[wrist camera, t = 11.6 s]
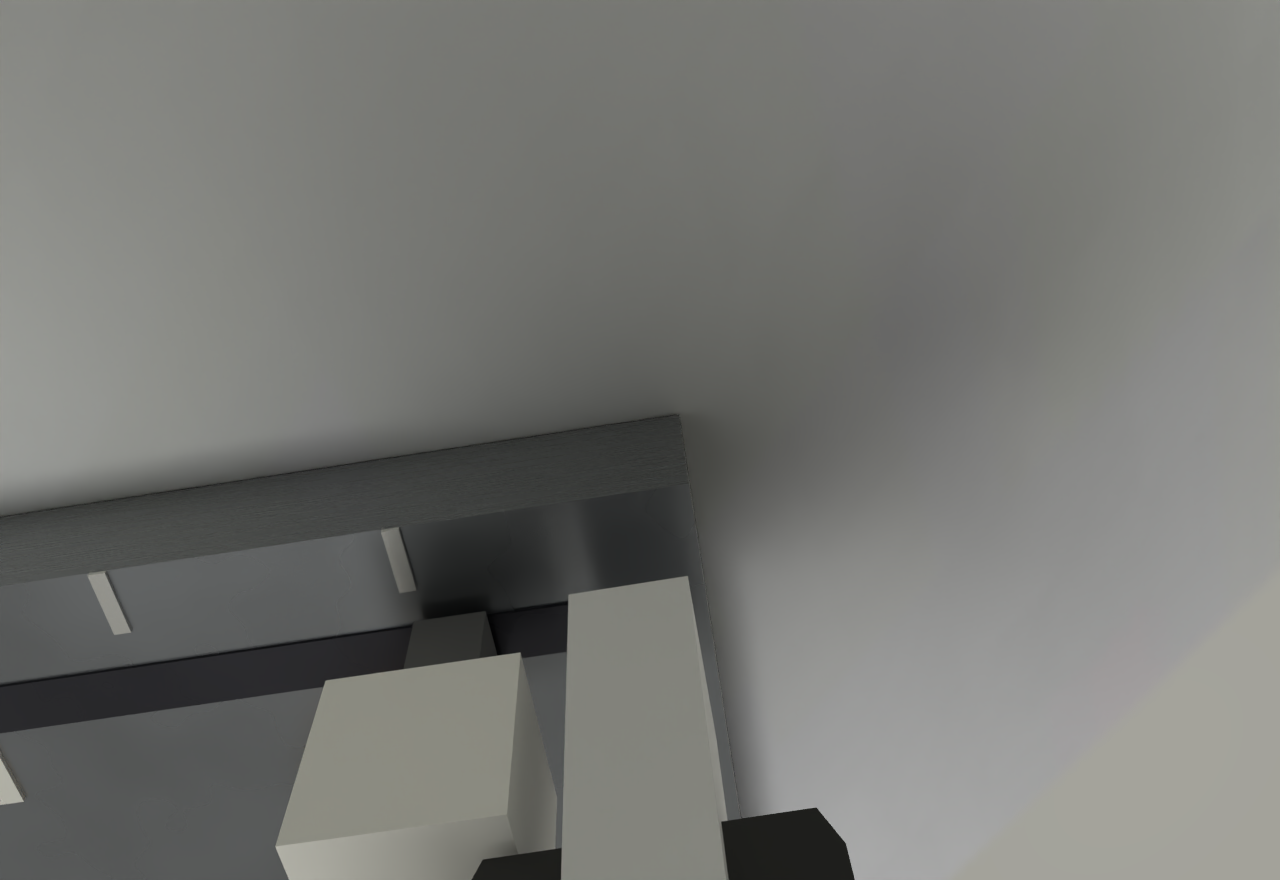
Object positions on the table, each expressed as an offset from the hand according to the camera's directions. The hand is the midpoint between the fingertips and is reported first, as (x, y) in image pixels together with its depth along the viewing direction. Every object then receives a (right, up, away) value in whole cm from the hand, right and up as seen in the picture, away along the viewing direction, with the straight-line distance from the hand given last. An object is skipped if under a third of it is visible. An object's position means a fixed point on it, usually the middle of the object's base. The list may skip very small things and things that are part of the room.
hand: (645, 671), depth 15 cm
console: (-7, -2, +5) cm, 8 cm away
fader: (-3, 0, +1) cm, 3 cm away
